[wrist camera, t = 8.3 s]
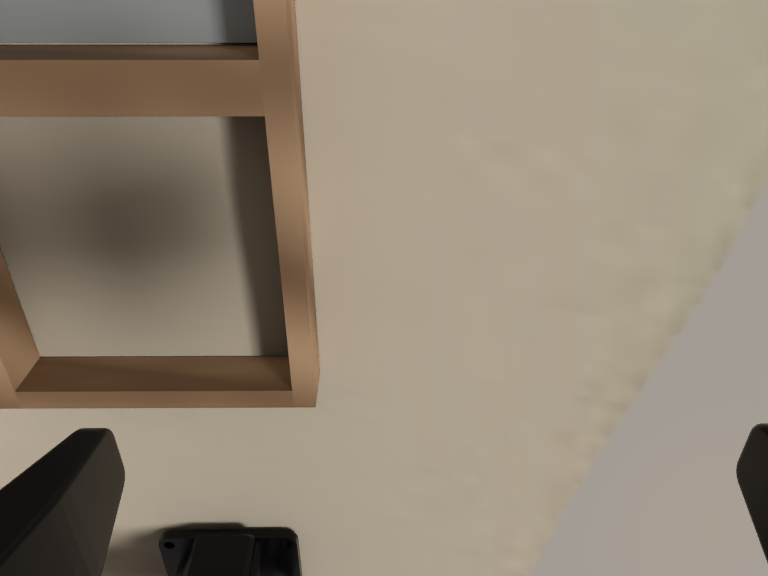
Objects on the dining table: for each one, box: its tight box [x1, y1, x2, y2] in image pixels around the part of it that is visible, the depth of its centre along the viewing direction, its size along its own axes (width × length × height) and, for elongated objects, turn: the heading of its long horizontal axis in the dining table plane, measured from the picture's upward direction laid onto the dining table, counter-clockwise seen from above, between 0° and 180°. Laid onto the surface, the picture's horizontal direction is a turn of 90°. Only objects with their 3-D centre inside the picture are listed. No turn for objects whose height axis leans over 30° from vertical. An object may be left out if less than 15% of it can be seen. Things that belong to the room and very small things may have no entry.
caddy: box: [0, 0, 320, 409], centre depth 18 cm, size 23×12×2 cm, turn 0°
